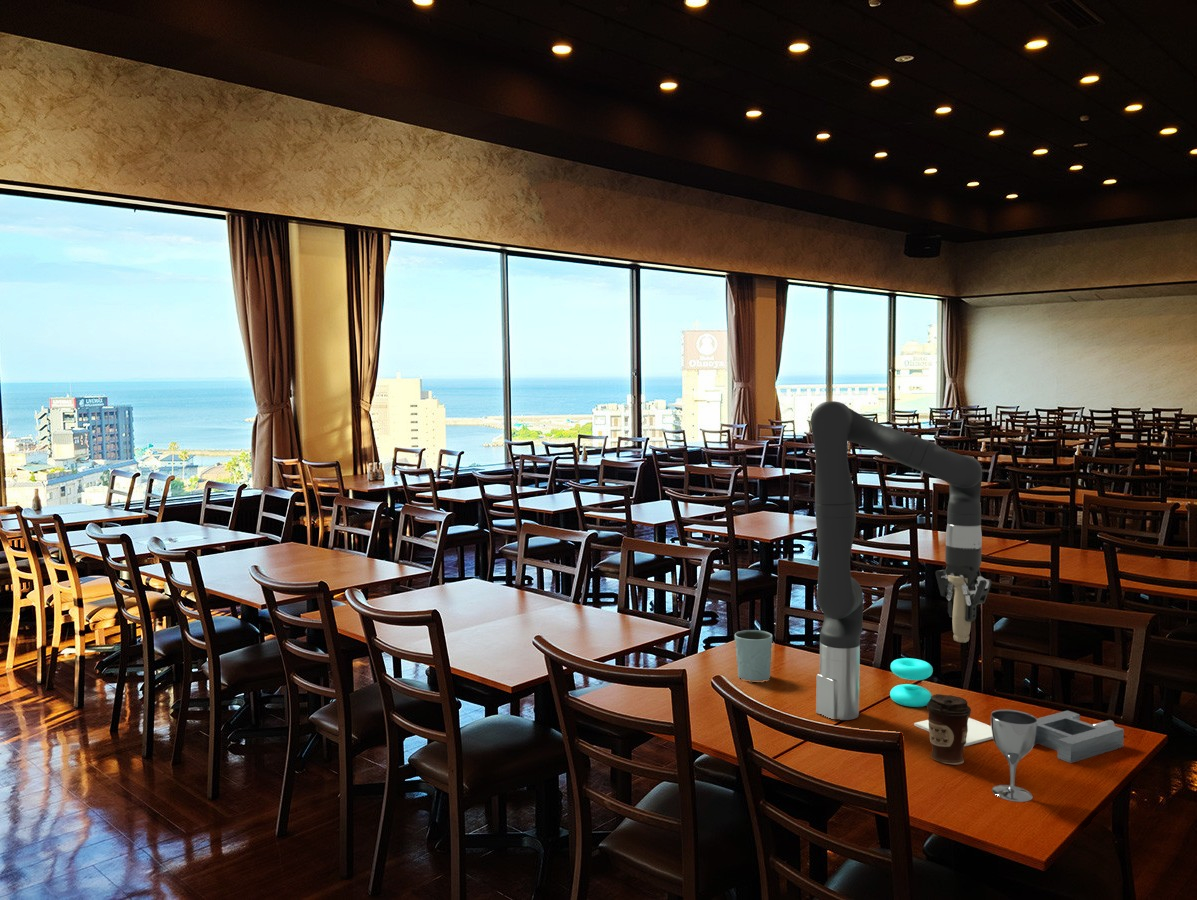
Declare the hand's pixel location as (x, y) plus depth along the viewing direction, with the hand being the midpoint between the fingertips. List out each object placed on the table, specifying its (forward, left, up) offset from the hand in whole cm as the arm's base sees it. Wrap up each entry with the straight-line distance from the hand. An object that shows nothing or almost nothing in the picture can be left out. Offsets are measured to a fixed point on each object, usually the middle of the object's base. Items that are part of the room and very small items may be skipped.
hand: (961, 618), depth 199 cm
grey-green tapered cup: (-18, +53, -26) cm, 62 cm away
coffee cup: (-16, -10, -26) cm, 32 cm away
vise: (+17, -17, -26) cm, 35 cm away
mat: (0, 0, -26) cm, 26 cm away
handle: (0, 0, -5) cm, 5 cm away
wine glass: (-18, -27, -26) cm, 42 cm away
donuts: (+5, +19, -26) cm, 33 cm away
